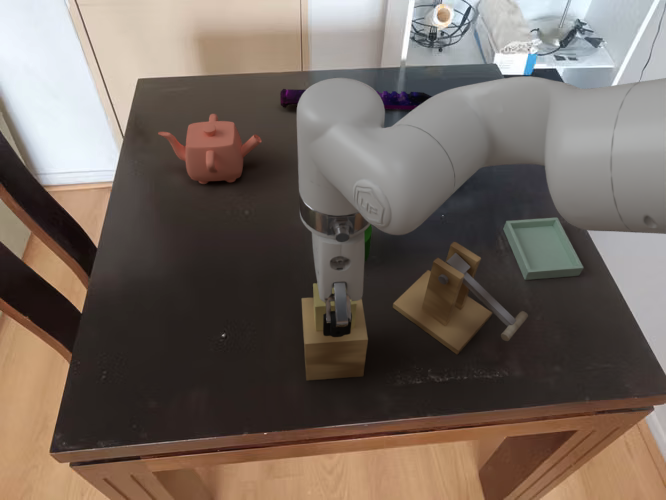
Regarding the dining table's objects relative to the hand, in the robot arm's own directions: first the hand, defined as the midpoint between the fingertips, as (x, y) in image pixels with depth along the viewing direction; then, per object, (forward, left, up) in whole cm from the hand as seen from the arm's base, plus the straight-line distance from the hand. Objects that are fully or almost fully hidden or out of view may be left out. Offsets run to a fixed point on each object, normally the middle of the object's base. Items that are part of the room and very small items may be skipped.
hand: (332, 299), depth 67 cm
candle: (+12, -16, -14) cm, 24 cm away
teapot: (+43, -14, -14) cm, 47 cm away
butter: (0, 0, -4) cm, 4 cm away
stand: (0, 0, -14) cm, 14 cm away
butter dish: (-12, -39, -14) cm, 43 cm away
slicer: (-7, -17, -14) cm, 23 cm away
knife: (+35, -49, -14) cm, 61 cm away
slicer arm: (-12, -17, -6) cm, 21 cm away
